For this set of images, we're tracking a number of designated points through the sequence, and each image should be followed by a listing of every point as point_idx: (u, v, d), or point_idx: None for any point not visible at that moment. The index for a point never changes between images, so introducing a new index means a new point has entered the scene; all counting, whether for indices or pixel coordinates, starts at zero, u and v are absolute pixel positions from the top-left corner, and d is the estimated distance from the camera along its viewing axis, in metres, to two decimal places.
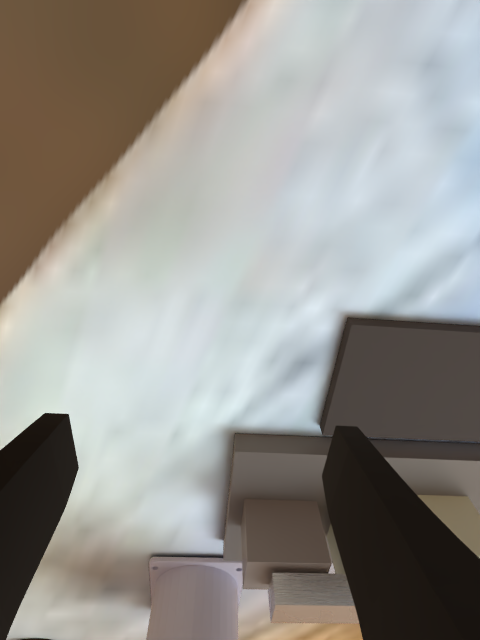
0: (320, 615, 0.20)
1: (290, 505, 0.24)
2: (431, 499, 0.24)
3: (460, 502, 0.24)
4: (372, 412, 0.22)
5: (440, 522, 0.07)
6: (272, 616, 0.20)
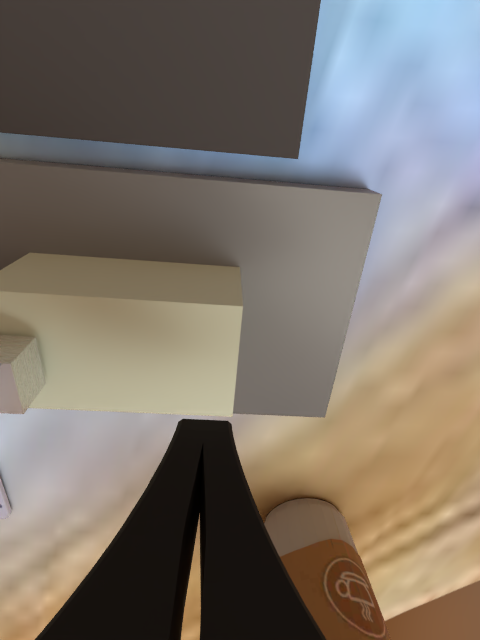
0: None
1: None
2: (175, 265, 0.15)
3: (220, 269, 0.15)
4: (23, 70, 0.13)
5: (254, 517, 0.06)
6: None
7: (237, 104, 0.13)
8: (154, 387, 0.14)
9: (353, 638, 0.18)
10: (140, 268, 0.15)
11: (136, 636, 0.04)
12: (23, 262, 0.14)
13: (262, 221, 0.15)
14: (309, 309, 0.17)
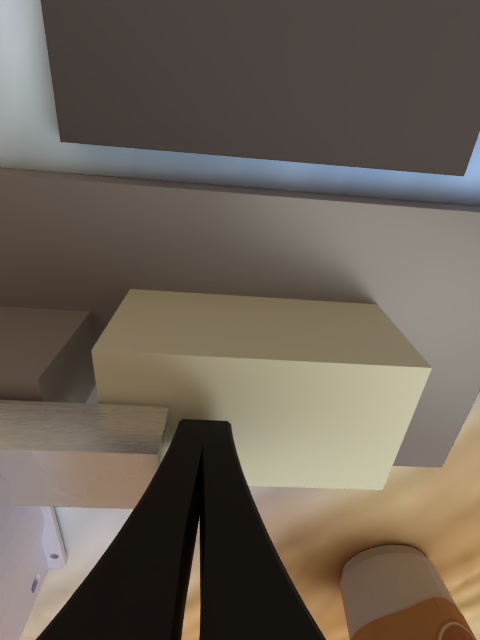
0: None
1: (31, 312, 0.12)
2: (305, 303, 0.13)
3: (359, 309, 0.13)
4: (145, 69, 0.10)
5: (254, 517, 0.06)
6: None
7: (403, 110, 0.11)
8: (297, 459, 0.11)
9: None
10: (269, 309, 0.12)
11: (137, 636, 0.04)
12: (132, 304, 0.11)
13: (415, 251, 0.12)
14: (449, 351, 0.14)
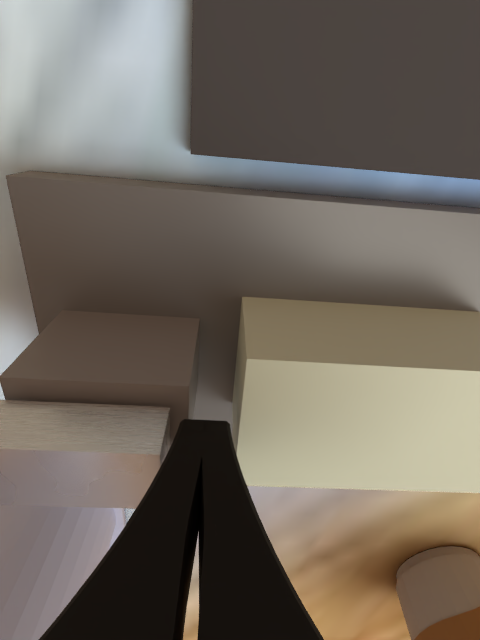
0: None
1: (145, 319, 0.13)
2: (412, 310, 0.13)
3: (465, 316, 0.13)
4: (283, 85, 0.10)
5: (252, 517, 0.06)
6: None
7: None
8: (418, 464, 0.11)
9: None
10: (383, 317, 0.12)
11: (140, 636, 0.05)
12: (254, 312, 0.12)
13: None
14: None
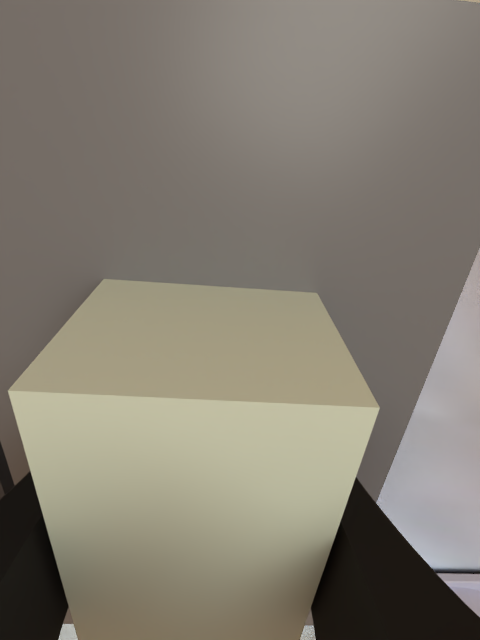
0: None
1: None
2: None
3: None
4: None
5: (387, 521, 0.07)
6: None
7: None
8: (262, 538, 0.06)
9: None
10: None
11: None
12: None
13: (3, 238, 0.08)
14: (185, 114, 0.07)
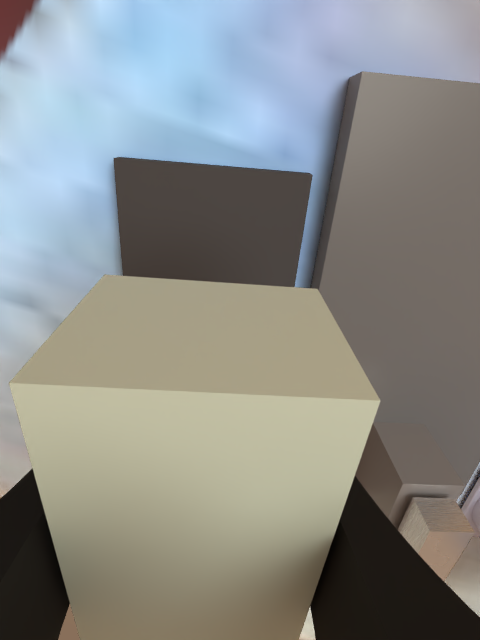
0: None
1: (366, 451, 0.21)
2: None
3: None
4: None
5: (386, 520, 0.07)
6: None
7: (264, 234, 0.16)
8: (263, 533, 0.06)
9: None
10: None
11: None
12: None
13: (369, 213, 0.15)
14: None
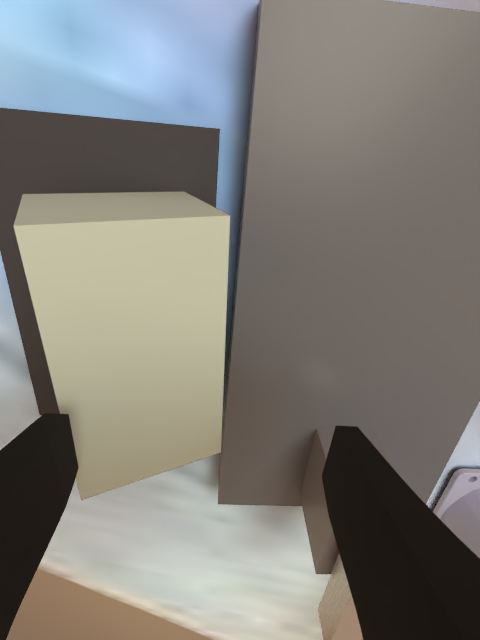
0: None
1: (311, 461, 0.18)
2: None
3: None
4: None
5: (440, 522, 0.07)
6: None
7: None
8: (185, 325, 0.10)
9: None
10: None
11: None
12: None
13: (289, 177, 0.12)
14: (428, 95, 0.11)
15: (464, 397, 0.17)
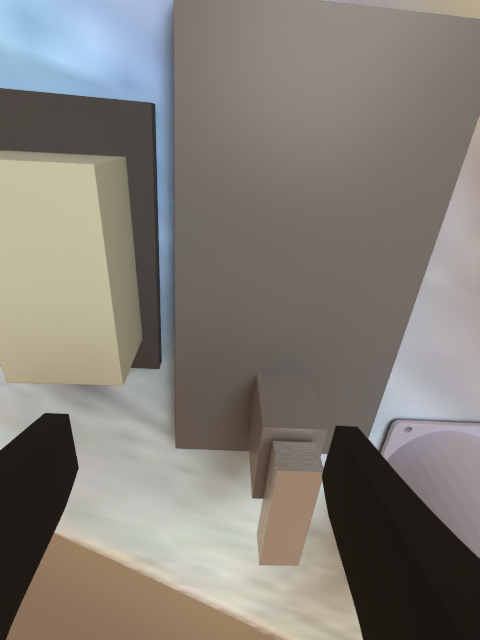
0: (288, 532, 0.17)
1: (253, 405, 0.20)
2: None
3: None
4: None
5: (440, 522, 0.07)
6: (286, 564, 0.18)
7: None
8: (69, 255, 0.13)
9: None
10: None
11: None
12: None
13: (210, 143, 0.14)
14: (318, 72, 0.13)
15: (385, 345, 0.19)
